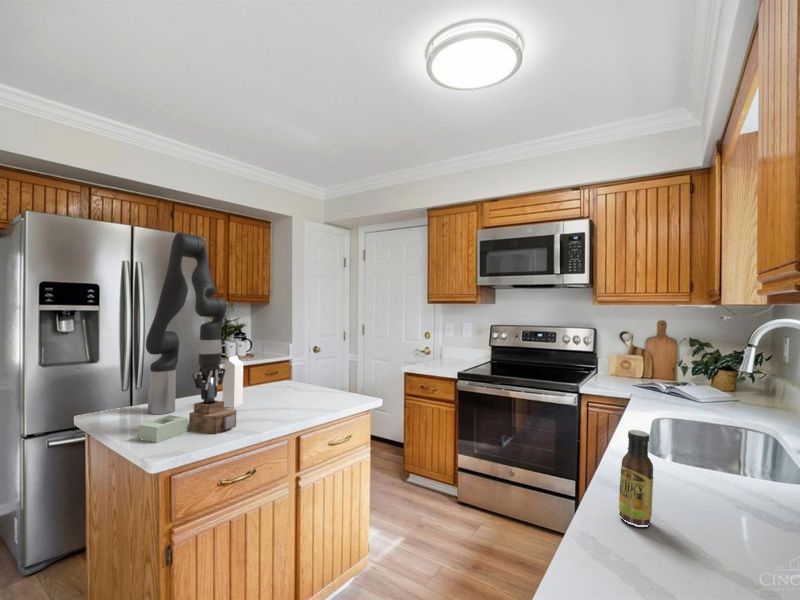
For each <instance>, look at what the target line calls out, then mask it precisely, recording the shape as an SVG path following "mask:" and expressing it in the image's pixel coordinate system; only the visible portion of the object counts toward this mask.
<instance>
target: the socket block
mask: <svg viewBox="0 0 800 600" xmlns="http://www.w3.org/2000/svg"><path fill="white" fill-rule="evenodd" d="M230 415H235V427H237V409H235V408H226V407H224V401H222V400H214V404H210V405H208V404H204V400H203V401H200V402H196V403H194V404H193V411H192V412H189V420H188V422H189V427H188V429H189V431H195V432H201V433H206V434H212V435H213V434H215V435H217V434H219V433H222V432H225V431H227V430H230V429H232V428H235V427H234V426H233V427H231V428H228V429H223V417H225V416H230Z"/></svg>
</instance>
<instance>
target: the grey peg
mask: <svg viewBox="0 0 800 600" xmlns="http://www.w3.org/2000/svg"><path fill="white" fill-rule="evenodd" d="M204 381H207V380H204ZM204 386H205V383H204ZM207 390H208V399H207V400H203V401H204V404H208V405H210V404H214V400H215V398H216V397H215V377H211V380H210V383H209V385H208V389H207Z"/></svg>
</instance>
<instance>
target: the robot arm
mask: <svg viewBox="0 0 800 600" xmlns="http://www.w3.org/2000/svg"><path fill="white" fill-rule="evenodd" d="M183 258H189V259H190V258H191V259H194V260H195V261H196V266H195V268H194V270H193V272H192V275H191V283H192V286H193V289H194V292H195V293H194V294H195V305H194V310H195V313H196V314H197V315H198V316H200V317H203V318H208V317H210V318H211V317H212V320H210V321H209V322H205V323H203V324H201V325H200V328H199V333H200V334H199V345H198V365H199V370H198V372H196V373H192V378H193V381H194V385H195V388H196V389H199V390H200V398H201V400H203V401H204V400H207V399H208V390H207V389H208V385H209V383H210V380H211V377H215V398H217V396H218V387H219V385H223V378H224V374H225V369H223V367H220V365H221V364H222V326H223V324H224V320H225V316H226V314H227V309H228V305H227V302H226V300H225V299H224V298H223V297H214V295H216V292H217V289H216V286H215V284H214V281H213V278H212V274H211V269H210V265H209V256H208V251H207V246H206V241H205V239H204V238H203V237H202V236H199V235H195V234H190V233H186V232H181V231H179V232H177V233H176V234H175V235H174V237H173V240H172V243H171V248H170V254H169V261H168V266H167V269H166V273H165V279H164V281H163V285H162V288H161V291H160V296H159V298H158V299H159V300H158V304H157V308H156V312H155V315H154V318H153V321H152V323H151V325H150V328H149V331H148V334H147V336H146V341H145V348H146V349H145V350H146V351H147V353H148V354H150V355H154V356H155V355H161V356H160V357H159V358H158V359H157V360H155V361H153V362H151V364H150V367H149V370H150V373H149V388H148V389H147V412H148V413H149V414H151V415H162V414H163V415H165V414H170V413H172V412H175V411H176V385H177V384H176V382H177V380H176V379H177V377H176V376H177V365H178V361H179V351H180V350H179V349H180V340H179V335H178V334H177V333H176V332H175V331H173V330H172V331H171V330H167V328H168V326H169V325H170V322H171V321H172V320H173V319H174V318H175V317H176V316H177V315H178V314H179V313H180V312H181V310H183V307H184V306H185V303H186V301H187V297H188V292H189V287H188V283H187V281H186V278H185V276H184V273H183V270H182V260H183ZM204 380H207V381H204ZM204 383H205V386H204Z"/></svg>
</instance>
